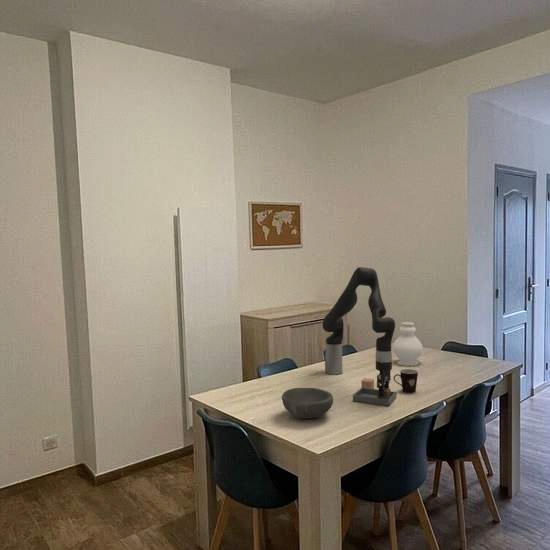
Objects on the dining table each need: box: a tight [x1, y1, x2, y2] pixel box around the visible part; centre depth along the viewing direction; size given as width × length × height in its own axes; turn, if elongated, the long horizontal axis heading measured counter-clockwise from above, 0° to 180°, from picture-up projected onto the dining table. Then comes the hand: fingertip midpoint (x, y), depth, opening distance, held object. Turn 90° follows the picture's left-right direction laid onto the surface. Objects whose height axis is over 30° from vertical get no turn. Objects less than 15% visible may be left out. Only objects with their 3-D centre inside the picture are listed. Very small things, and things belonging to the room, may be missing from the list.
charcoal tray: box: [352, 388, 397, 407], centre depth 232 cm, size 17×13×3 cm
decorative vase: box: [392, 321, 424, 367], centre depth 297 cm, size 18×18×25 cm
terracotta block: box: [360, 377, 375, 389], centre depth 248 cm, size 5×5×5 cm
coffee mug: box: [393, 368, 419, 394], centre depth 244 cm, size 12×9×10 cm
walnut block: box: [377, 388, 392, 400], centre depth 230 cm, size 5×5×5 cm
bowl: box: [281, 387, 334, 419], centre depth 213 cm, size 23×22×10 cm
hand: (383, 393), depth 230 cm, fingers open, 8 cm apart
